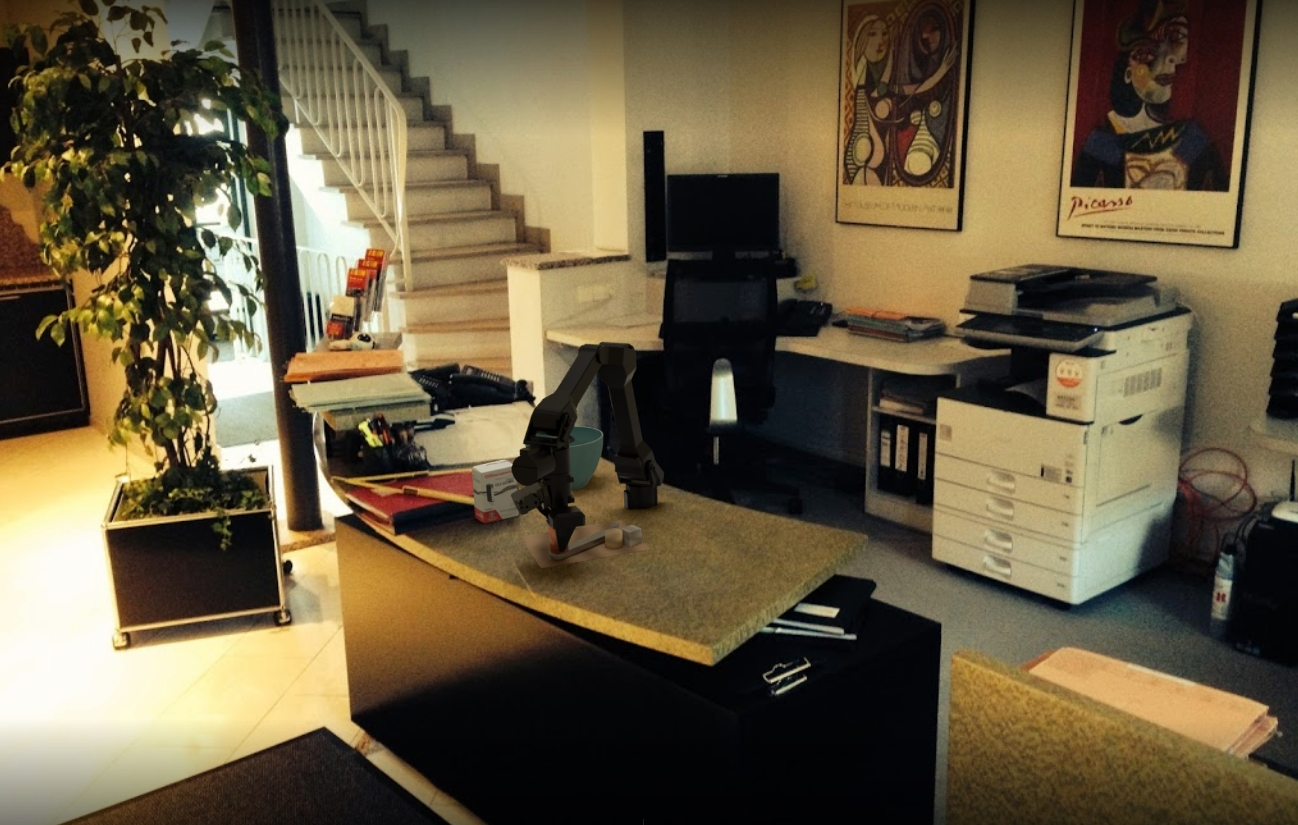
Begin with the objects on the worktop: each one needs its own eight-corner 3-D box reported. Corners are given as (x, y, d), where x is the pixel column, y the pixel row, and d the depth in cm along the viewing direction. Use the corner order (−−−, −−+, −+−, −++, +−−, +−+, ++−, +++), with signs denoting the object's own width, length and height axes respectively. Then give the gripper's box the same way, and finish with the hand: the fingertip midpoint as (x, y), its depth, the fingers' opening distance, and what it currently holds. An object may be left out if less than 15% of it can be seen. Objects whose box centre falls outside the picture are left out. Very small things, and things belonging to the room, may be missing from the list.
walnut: (619, 541, 222) (619, 527, 221) (625, 547, 219) (624, 533, 218) (603, 544, 221) (602, 530, 220) (608, 550, 218) (607, 535, 217)
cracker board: (622, 525, 234) (621, 506, 233) (650, 554, 218) (649, 534, 217) (519, 542, 227) (518, 522, 226) (541, 573, 211) (540, 553, 210)
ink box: (484, 524, 238) (480, 471, 235) (474, 518, 242) (470, 466, 239) (520, 515, 243) (516, 463, 240) (510, 509, 247) (506, 458, 244)
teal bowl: (512, 491, 259) (508, 441, 255) (561, 469, 273) (558, 421, 270) (573, 504, 248) (569, 451, 245) (621, 480, 263) (618, 430, 260)
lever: (603, 534, 225) (601, 498, 223) (615, 538, 223) (613, 502, 221) (546, 557, 215) (543, 519, 213) (558, 561, 212) (556, 523, 210)
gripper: (503, 461, 216) (507, 536, 220) (524, 490, 199) (529, 571, 203) (558, 454, 219) (562, 528, 223) (584, 482, 202) (587, 562, 206)
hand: (558, 547), depth 214 cm, fingers open, 4 cm apart
